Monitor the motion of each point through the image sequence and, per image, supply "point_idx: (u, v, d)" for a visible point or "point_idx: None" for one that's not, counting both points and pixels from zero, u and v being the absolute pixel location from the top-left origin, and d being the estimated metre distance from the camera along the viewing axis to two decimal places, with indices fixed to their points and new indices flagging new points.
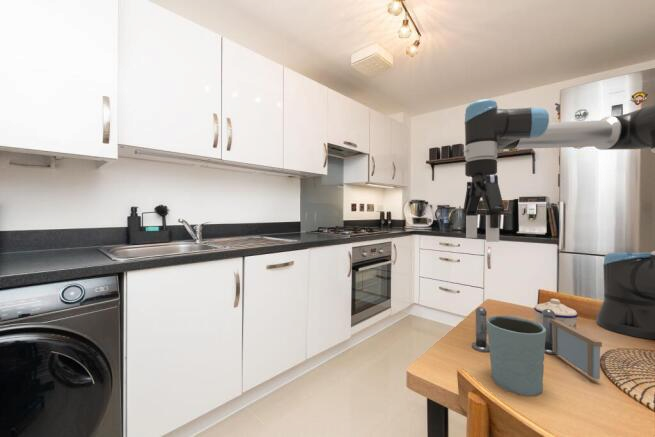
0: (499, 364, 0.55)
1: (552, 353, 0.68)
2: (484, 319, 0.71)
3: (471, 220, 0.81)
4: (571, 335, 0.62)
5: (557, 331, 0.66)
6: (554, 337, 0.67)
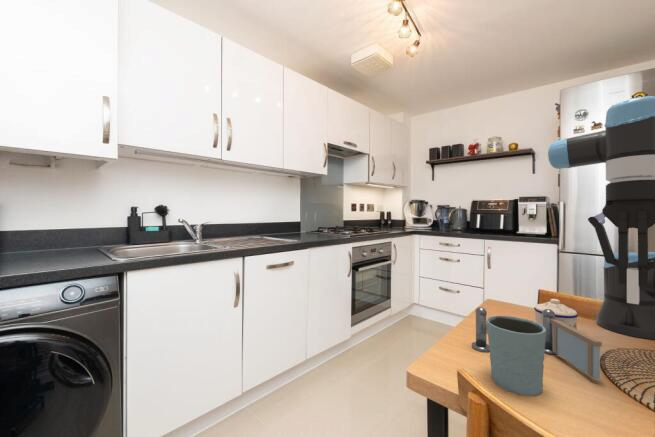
0: (499, 364, 0.55)
1: (552, 353, 0.68)
2: (484, 319, 0.71)
3: None
4: (571, 335, 0.62)
5: (557, 331, 0.66)
6: (554, 337, 0.67)
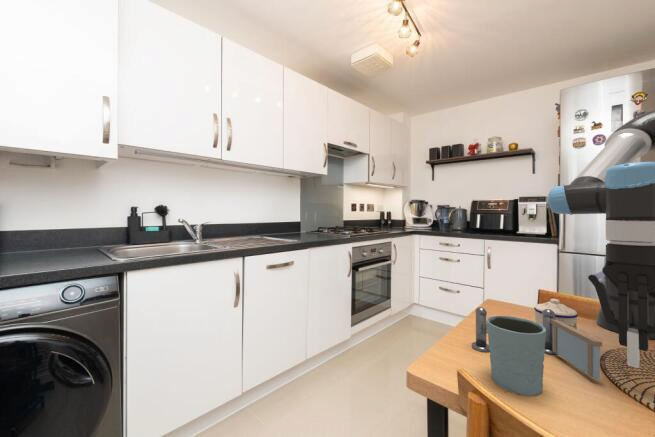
0: (499, 364, 0.55)
1: (552, 353, 0.68)
2: (484, 319, 0.71)
3: None
4: (571, 335, 0.62)
5: (557, 331, 0.66)
6: (554, 337, 0.67)
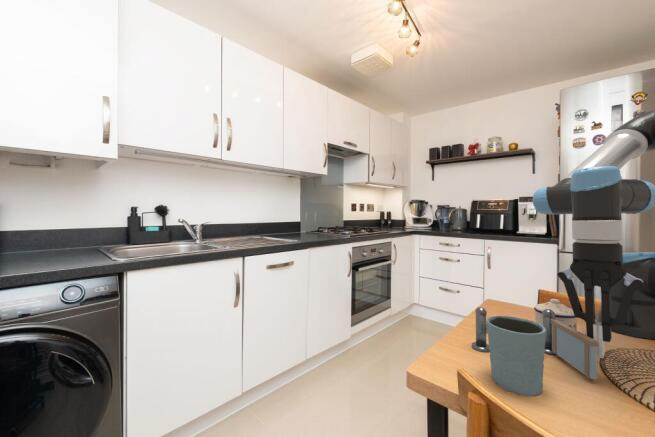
0: (499, 364, 0.55)
1: (552, 353, 0.68)
2: (484, 319, 0.71)
3: None
4: (569, 335, 0.62)
5: (556, 331, 0.66)
6: (553, 337, 0.67)
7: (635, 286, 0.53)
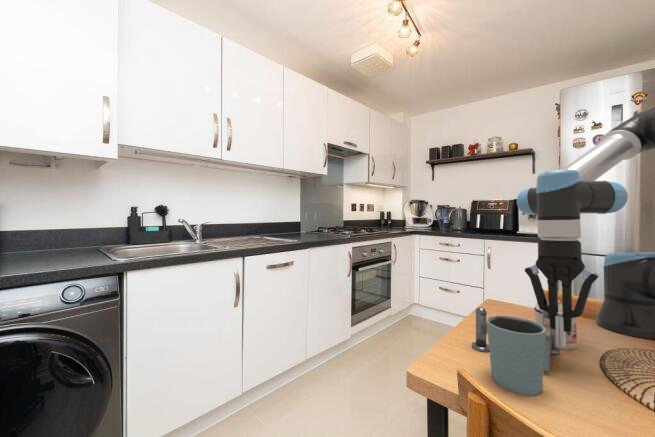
0: (499, 364, 0.55)
1: (552, 353, 0.68)
2: (484, 319, 0.71)
3: None
4: None
5: None
6: None
7: (591, 280, 0.58)
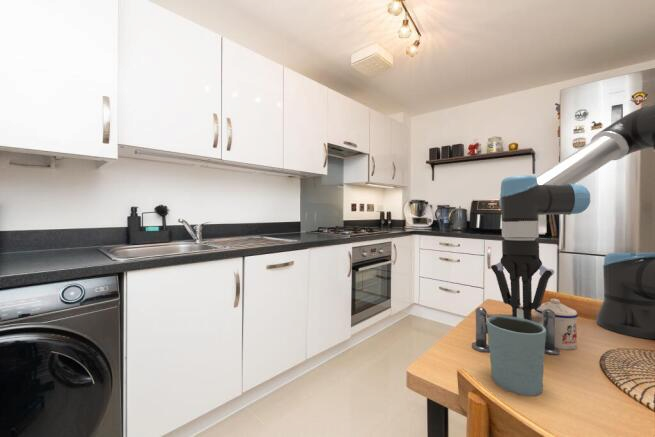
0: (499, 364, 0.55)
1: (552, 353, 0.68)
2: (484, 319, 0.71)
3: None
4: None
5: None
6: None
7: (546, 276, 0.64)
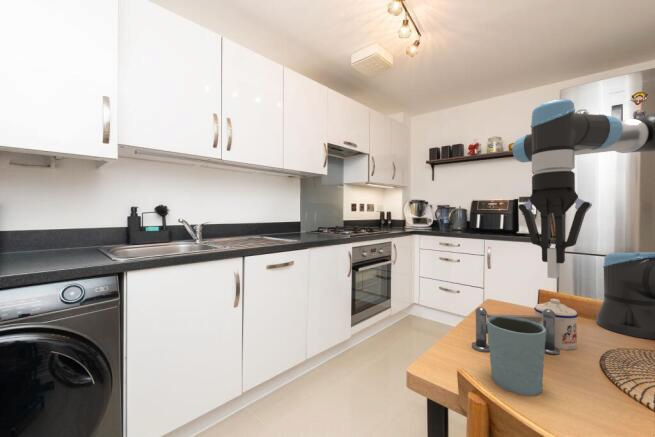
0: (499, 364, 0.55)
1: (552, 353, 0.68)
2: (484, 319, 0.71)
3: None
4: None
5: None
6: None
7: (584, 208, 0.58)
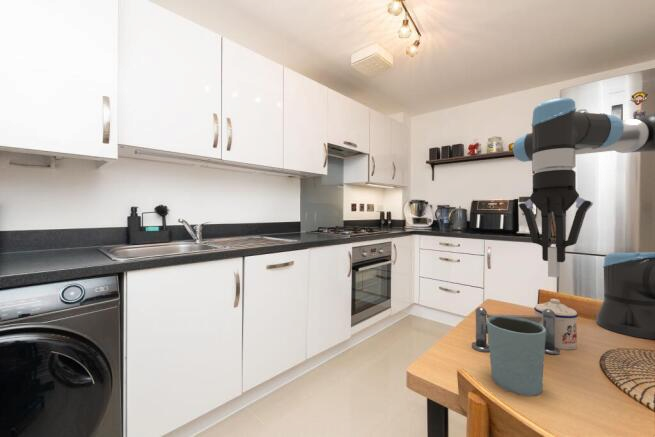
0: (499, 364, 0.55)
1: (552, 353, 0.68)
2: (484, 319, 0.71)
3: None
4: None
5: None
6: None
7: (584, 207, 0.58)
